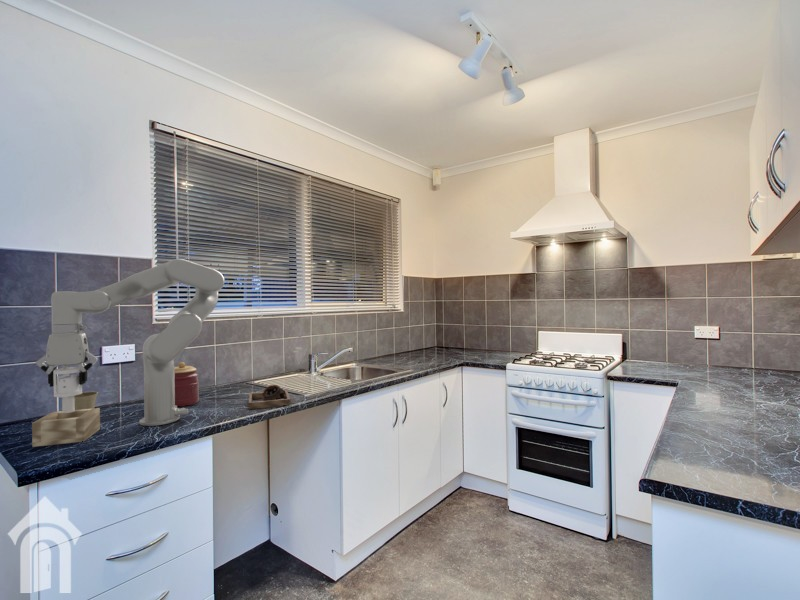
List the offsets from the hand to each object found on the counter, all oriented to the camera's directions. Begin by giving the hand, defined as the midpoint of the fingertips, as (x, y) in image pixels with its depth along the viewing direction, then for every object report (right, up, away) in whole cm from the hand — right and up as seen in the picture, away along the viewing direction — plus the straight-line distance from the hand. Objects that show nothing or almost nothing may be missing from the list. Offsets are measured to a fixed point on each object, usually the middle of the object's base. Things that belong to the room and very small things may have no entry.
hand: (68, 384), depth 129 cm
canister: (+14, -17, +42) cm, 47 cm away
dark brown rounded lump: (+53, -17, +43) cm, 70 cm away
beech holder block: (0, -17, 0) cm, 17 cm away
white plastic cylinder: (0, -9, 0) cm, 9 cm away
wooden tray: (+51, -16, +42) cm, 68 cm away
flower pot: (-13, -17, +23) cm, 32 cm away
